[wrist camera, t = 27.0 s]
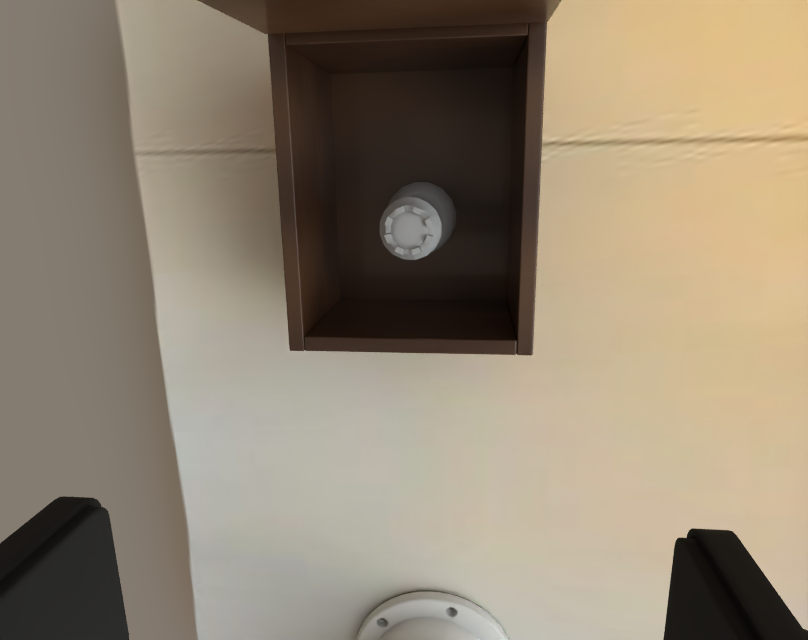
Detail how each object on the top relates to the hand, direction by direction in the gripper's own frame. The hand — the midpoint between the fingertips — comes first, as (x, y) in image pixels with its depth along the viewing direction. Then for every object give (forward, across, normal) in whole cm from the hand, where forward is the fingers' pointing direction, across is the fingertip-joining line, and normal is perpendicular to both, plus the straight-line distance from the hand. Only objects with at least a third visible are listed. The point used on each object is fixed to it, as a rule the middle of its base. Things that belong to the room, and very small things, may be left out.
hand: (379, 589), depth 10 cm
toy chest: (+30, +2, -5) cm, 31 cm away
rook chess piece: (+30, +2, -4) cm, 30 cm away
